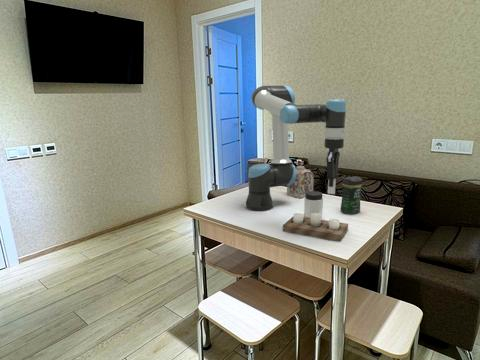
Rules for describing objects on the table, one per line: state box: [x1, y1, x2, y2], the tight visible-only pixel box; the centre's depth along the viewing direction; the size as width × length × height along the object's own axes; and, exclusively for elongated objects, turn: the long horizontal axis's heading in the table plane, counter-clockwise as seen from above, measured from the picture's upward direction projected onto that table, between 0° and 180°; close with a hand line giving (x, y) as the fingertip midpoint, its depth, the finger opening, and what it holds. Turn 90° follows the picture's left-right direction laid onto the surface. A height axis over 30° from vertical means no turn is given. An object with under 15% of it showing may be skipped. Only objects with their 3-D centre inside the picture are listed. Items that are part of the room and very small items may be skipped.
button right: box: [328, 218, 341, 231], centre depth 136 cm, size 4×4×5 cm
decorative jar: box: [286, 165, 315, 199], centre depth 195 cm, size 12×12×18 cm
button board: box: [282, 216, 349, 243], centre depth 140 cm, size 25×14×3 cm, turn 60°
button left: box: [292, 213, 304, 224], centre depth 144 cm, size 4×4×5 cm
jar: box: [303, 190, 324, 218], centre depth 158 cm, size 9×8×12 cm
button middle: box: [310, 213, 322, 227], centre depth 139 cm, size 4×4×5 cm
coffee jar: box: [340, 175, 363, 215], centre depth 162 cm, size 10×8×19 cm
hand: (331, 193), depth 136 cm, fingers closed
